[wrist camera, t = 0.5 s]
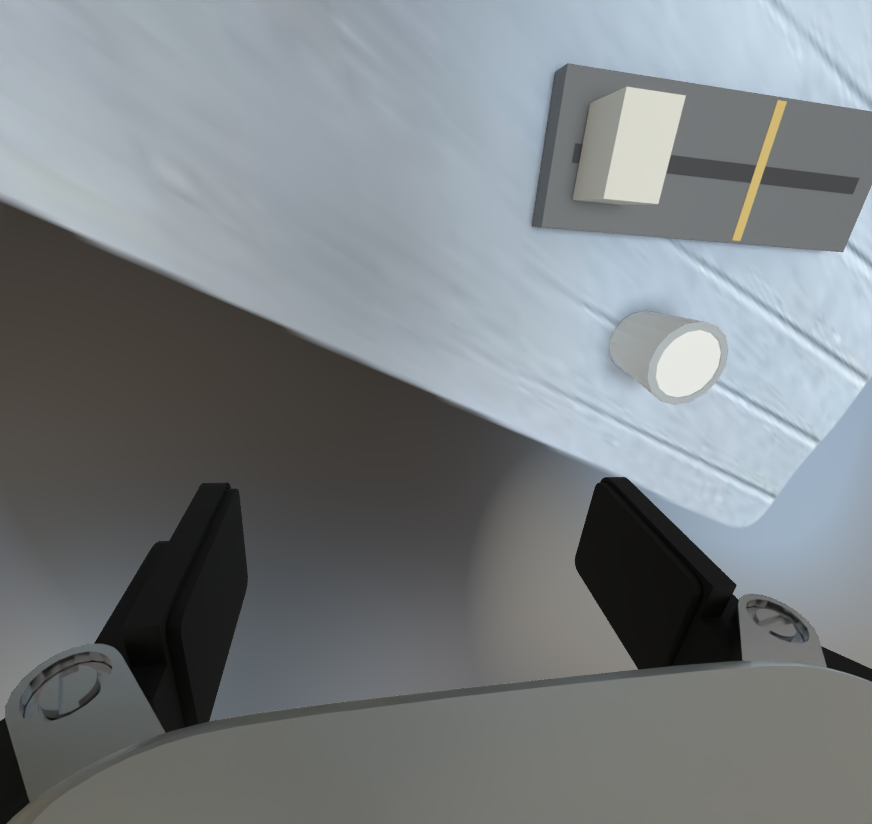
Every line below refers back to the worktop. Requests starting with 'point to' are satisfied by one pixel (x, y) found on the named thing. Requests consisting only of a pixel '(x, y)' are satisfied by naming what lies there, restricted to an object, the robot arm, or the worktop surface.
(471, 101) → the worktop surface
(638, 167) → the fader knob
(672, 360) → the white cylinder
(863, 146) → the fader track
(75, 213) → the worktop surface
